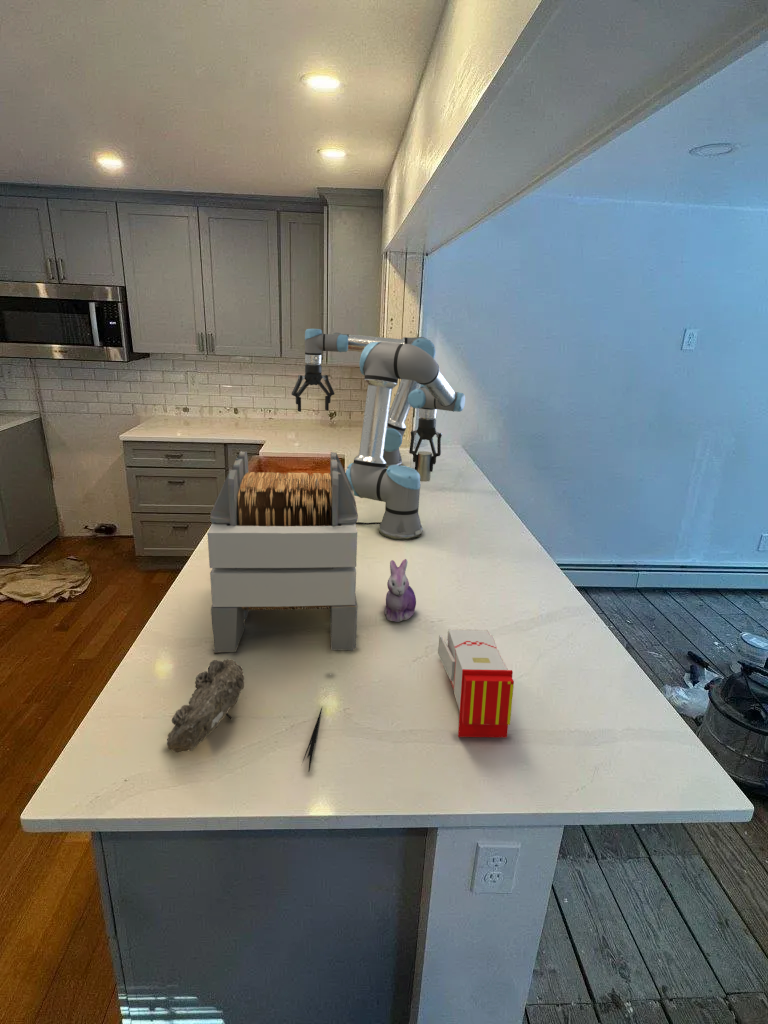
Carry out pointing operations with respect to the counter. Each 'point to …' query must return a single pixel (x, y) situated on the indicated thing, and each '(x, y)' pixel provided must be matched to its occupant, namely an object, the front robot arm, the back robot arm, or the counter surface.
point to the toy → (478, 682)
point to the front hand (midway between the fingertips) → (423, 470)
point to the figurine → (399, 594)
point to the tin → (424, 465)
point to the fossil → (206, 705)
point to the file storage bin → (283, 549)
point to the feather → (313, 740)
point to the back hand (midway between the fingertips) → (313, 410)
